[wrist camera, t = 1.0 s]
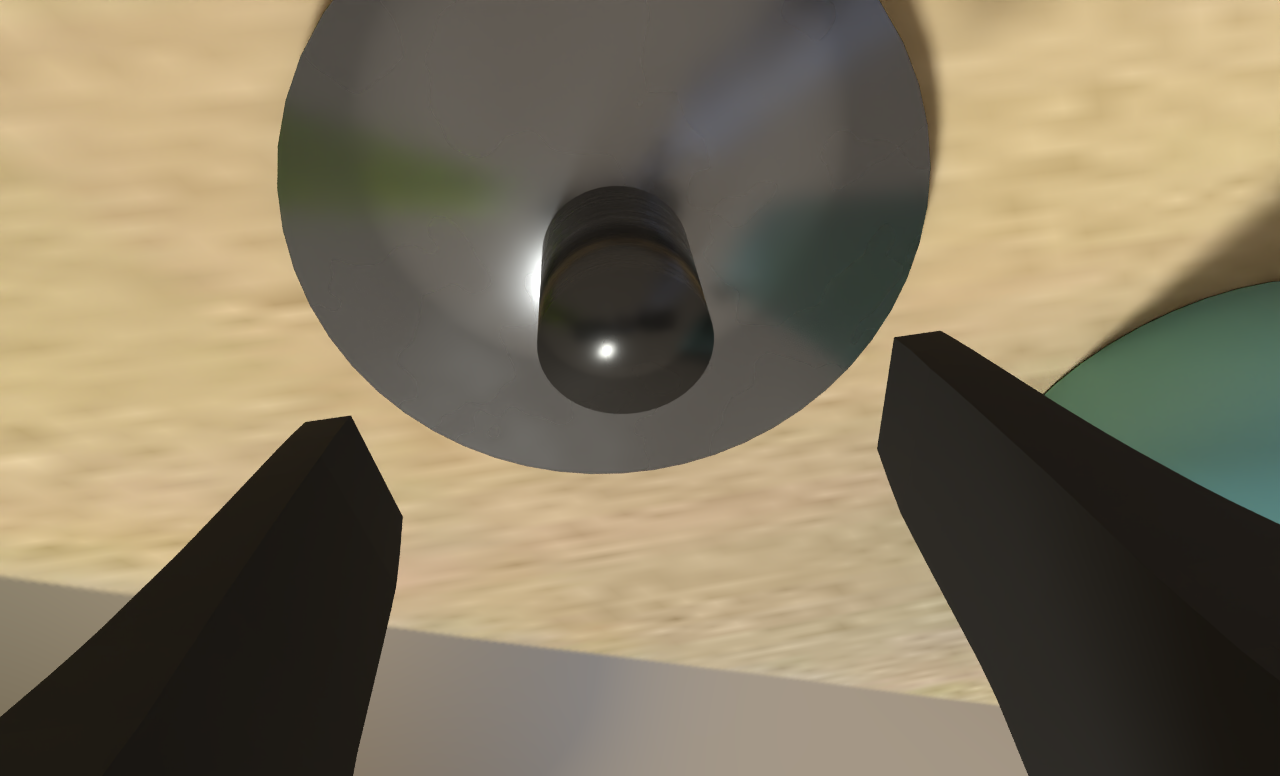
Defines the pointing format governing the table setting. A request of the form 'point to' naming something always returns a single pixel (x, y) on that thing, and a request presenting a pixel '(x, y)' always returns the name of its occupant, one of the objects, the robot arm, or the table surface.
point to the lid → (603, 213)
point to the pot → (1195, 394)
